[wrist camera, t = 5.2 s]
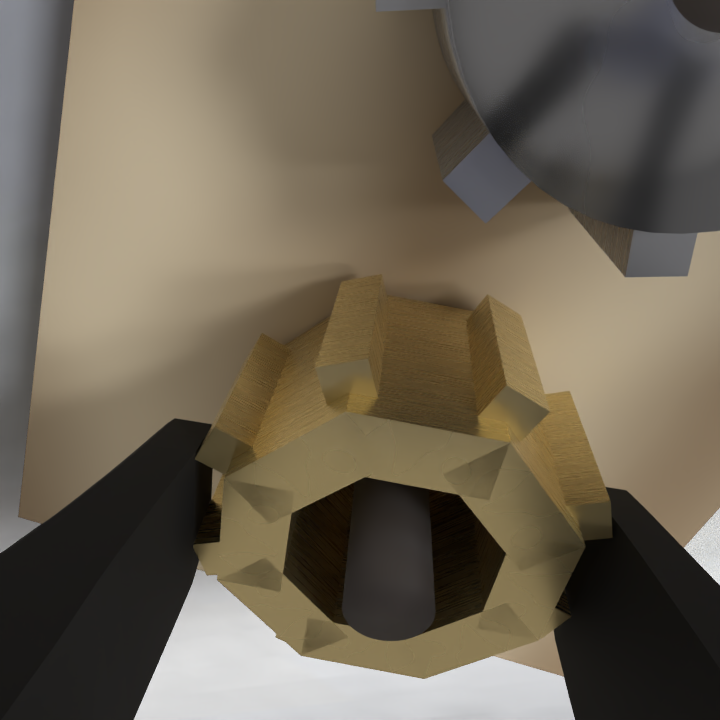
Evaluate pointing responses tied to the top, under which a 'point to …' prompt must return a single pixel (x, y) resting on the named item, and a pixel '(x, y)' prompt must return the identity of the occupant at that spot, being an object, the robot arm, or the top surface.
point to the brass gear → (402, 477)
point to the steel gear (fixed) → (586, 118)
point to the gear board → (329, 263)
